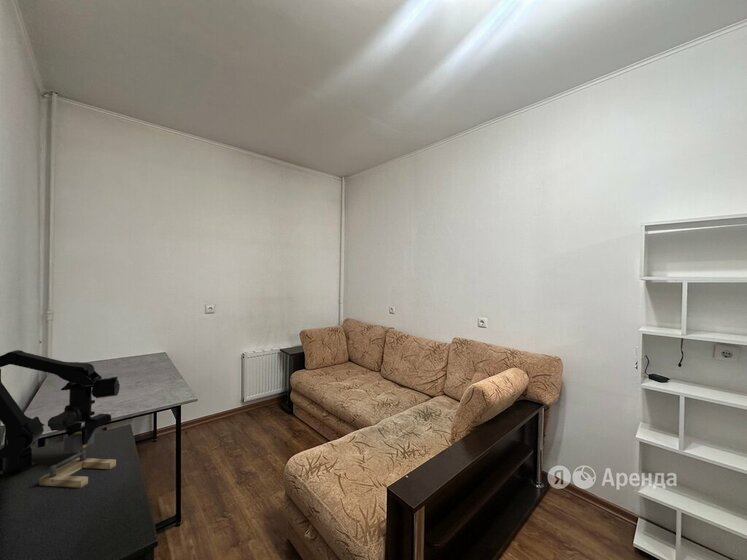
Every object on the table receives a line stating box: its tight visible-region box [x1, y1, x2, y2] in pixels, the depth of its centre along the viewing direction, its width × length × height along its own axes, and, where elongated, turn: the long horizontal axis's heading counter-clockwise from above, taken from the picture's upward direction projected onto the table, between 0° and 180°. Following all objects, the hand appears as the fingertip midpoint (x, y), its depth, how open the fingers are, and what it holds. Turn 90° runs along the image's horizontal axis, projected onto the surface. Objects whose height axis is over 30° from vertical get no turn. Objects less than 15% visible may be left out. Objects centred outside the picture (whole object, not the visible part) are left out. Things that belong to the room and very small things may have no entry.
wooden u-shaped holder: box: [38, 448, 117, 489], centre depth 95 cm, size 14×11×5 cm
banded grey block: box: [63, 429, 96, 454], centre depth 105 cm, size 4×7×5 cm, turn 175°
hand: (79, 444), depth 105 cm, fingers closed on banded grey block, 4 cm apart
